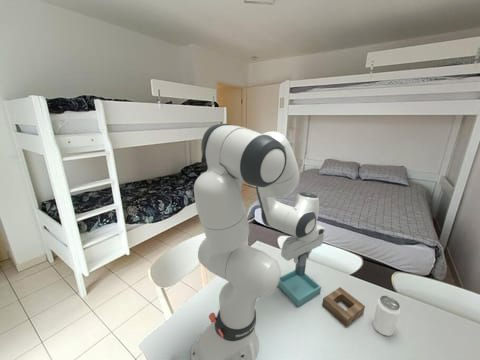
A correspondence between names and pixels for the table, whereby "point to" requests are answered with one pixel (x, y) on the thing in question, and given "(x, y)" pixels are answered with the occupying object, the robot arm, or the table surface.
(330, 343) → the table surface
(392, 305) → the can
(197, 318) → the table surface
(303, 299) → the tray
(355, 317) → the pin block
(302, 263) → the pin
